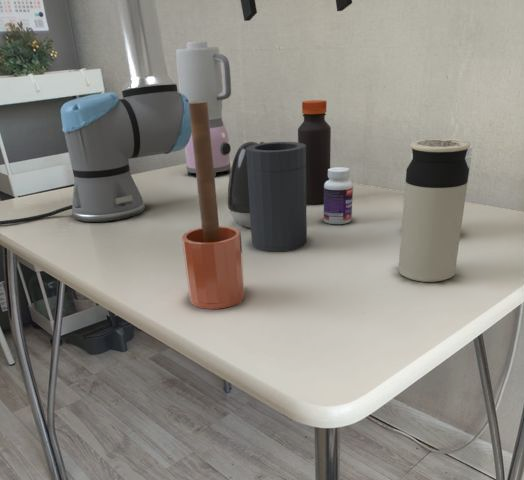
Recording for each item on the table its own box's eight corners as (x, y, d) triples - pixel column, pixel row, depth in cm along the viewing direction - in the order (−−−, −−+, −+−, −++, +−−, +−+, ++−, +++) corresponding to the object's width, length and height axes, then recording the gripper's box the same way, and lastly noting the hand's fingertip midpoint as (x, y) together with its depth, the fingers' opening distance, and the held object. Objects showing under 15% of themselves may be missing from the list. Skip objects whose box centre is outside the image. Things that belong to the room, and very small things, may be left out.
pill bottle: (350, 225, 100) (352, 172, 95) (322, 225, 101) (322, 172, 96) (352, 217, 105) (354, 166, 100) (325, 217, 106) (325, 166, 101)
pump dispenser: (289, 218, 106) (287, 137, 99) (268, 233, 98) (264, 146, 91) (244, 214, 110) (238, 136, 103) (219, 229, 102) (212, 145, 95)
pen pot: (185, 309, 71) (177, 244, 67) (195, 287, 78) (187, 226, 73) (242, 308, 71) (237, 243, 66) (246, 286, 77) (242, 225, 73)
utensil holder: (250, 252, 90) (243, 153, 82) (253, 235, 98) (248, 143, 90) (307, 251, 89) (306, 150, 81) (306, 233, 97) (305, 140, 89)
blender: (178, 176, 148) (161, 43, 132) (205, 167, 157) (192, 42, 141) (223, 180, 140) (211, 40, 125) (249, 171, 149) (241, 39, 133)
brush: (198, 299, 72) (175, 104, 60) (203, 286, 76) (182, 101, 64) (231, 298, 72) (214, 103, 60) (234, 285, 75) (219, 99, 64)
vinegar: (326, 205, 113) (327, 102, 104) (295, 204, 115) (293, 103, 106) (332, 197, 119) (334, 99, 109) (303, 196, 121) (302, 100, 111)
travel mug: (421, 287, 73) (435, 150, 65) (387, 269, 80) (396, 142, 71) (466, 276, 76) (486, 143, 67) (430, 260, 82) (444, 136, 74)
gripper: (172, -218, 56) (216, 9, 62) (375, -211, 63) (396, -8, 69) (159, -169, 62) (200, 31, 69) (343, -168, 70) (366, 13, 76)
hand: (299, 12), depth 69 cm, fingers open, 13 cm apart
